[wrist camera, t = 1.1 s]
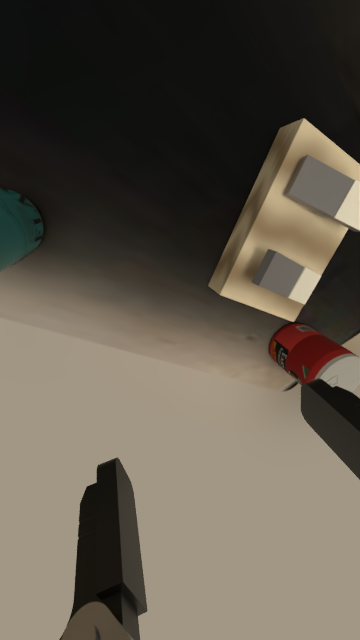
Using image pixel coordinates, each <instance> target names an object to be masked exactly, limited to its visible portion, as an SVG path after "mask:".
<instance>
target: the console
mask: <svg viewBox="0 0 360 640" xmlns="http://www.w3.org/2000/svg"><path fill="white" fill-rule="evenodd" d="M306 155H310V156H312V157H313V158H315V159H317V160H319V161H321V162H322V163H324V164H326V165H328V166H330V167H331V168H333V169H335V170H337V171H339V172H341V173H342V174H344V175H346V176H348V177H350V178H351V179H353V180H358V181H359V182H360V164H359V163H357V162H356V161H355V160H354V159H353V158H351V157H350V156H349V155H348V154H347V153H345V152H344V151H343V150H342V149H341V148H339V147H338V146H337V145H336V144H334V143H333V142H332V141H331V140H330V139H328V138H327V137H326V136H325V135H324V134H322V133H321V132H320V131H319V130H318V129H316V128H315V127H314V126H313V125H312V124H310V123H309V122H308V121H307V120H305V119H304V118H303V119H301V120H298V121H296V122H293V123H291V124H289V125H286V126H284V127H281V128H280V129H279V131H278V134H277V136H276V138H275V140H274V142H273V145H272V147H271V149H270V151H269V153H268V155H267V158H266V160H265V162H264V164H263V166H262V169H261V171H260V173H259V175H258V177H257V180H256V182H255V184H254V186H253V188H252V190H251V193H250V195H249V197H248V199H247V201H246V204H245V206H244V208H243V210H242V212H241V215H240V217H239V219H238V221H237V223H236V225H235V228H234V230H233V232H232V234H231V236H230V239H229V241H228V243H227V245H226V247H225V250H224V252H223V254H222V256H221V258H220V260H219V263H218V265H217V267H216V269H215V271H214V274H213V276H212V278H211V280H210V282H209V285H208V286H209V287H210V288H212V289H213V290H214V291H215V292H217V293H218V294H219V295H222V296H224V297H227V298H230V299H232V300H235V301H238V302H241V303H243V304H246V305H249V306H251V307H254V308H257V309H260V310H262V311H265V312H268V313H270V314H273V315H276V316H279V317H281V318H284V319H287V320H289V321H292V322H294V321H295V319H296V317H297V316H298V314H299V312H300V311H301V309H302V307H303V305H304V304H302V303H300V302H297V301H295V300H292V299H289V298H287V297H286V296H283V295H281V294H278V293H275V292H273V291H270V290H268V289H265V288H263V287H260V286H258V285H256V284H254V283H252V280H253V278H254V276H255V274H256V272H257V270H258V268H259V266H260V264H261V262H262V260H263V258H264V256H265V254H266V252H267V250H268V249H270V250H273V251H276V252H278V253H280V254H282V255H284V256H285V257H287V258H289V259H291V260H292V261H294V262H296V263H298V264H300V265H301V266H303V267H306V268H308V269H310V270H312V271H313V272H315V273H317V274H319V275H320V276H321V275H322V273H323V271H324V269H325V268H326V266H327V264H328V263H329V261H330V259H331V257H332V256H333V254H334V252H335V251H336V249H337V247H338V245H339V244H340V242H341V240H342V239H343V237H344V235H345V233H346V232H347V230H348V228H347V227H345V226H343V225H341V224H339V223H337V222H335V221H333V220H331V219H329V218H326V217H322V216H319V215H317V214H315V213H314V212H313V210H312V209H310V208H308V207H306V206H304V205H302V204H300V203H298V202H296V201H294V200H292V199H290V198H288V197H286V196H284V194H285V192H286V189H287V187H288V185H289V183H290V181H291V179H292V177H293V175H294V173H295V171H296V169H297V167H298V165H299V163H300V161H301V159H302V158H303V157H304V156H306Z"/></svg>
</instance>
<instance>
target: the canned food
mask: <svg viewBox="0 0 360 640" xmlns="http://www.w3.org/2000/svg"><path fill="white" fill-rule="evenodd" d="M269 350H270V354H271V356H272V358H273V360H274V361H275V362H277V363H278V364H279V365H280V366H281V367H282V368H283V369H284V370H285V371H286V372H287V373H289V374H290V375H291V376H292V377H293V378H294V379H295V380H296V381H297V382H298V383H299V384H301V385H303V384H305V383H307V382H310V381H312V380H315V379H318V378H320V379H322V380H324V381H325V382H326V383H328V384H329V385H330V386H331V387H334V386H338V387H341V388H343V389H345V390H348V391H350V392H353V391H354V390H355V389H356V388H357V386H358V385H359V384H360V357H359V356H357V355H355V354H354V353H352V352H350V351H349V350H347V349H346V348H344V347H342V346H341V345H339V344H337V343H335V342H334V341H332V340H330V339H329V338H327V337H325V336H324V335H322V334H320V333H318V332H317V331H315V330H313V329H312V328H310V327H308V326H307V325H304V324H300V323H291V324H288V325H286V326H284V327H282V328H281V329H280V330H279V331H278V332H277V333H276V334H275V335H274V336H273V338H272V340H271V343H270V347H269Z"/></svg>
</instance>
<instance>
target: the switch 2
mask: <svg viewBox="0 0 360 640" xmlns="http://www.w3.org/2000/svg"><path fill="white" fill-rule="evenodd" d="M284 196H286V197H288V198H290V199H292V200H294V201H296V202H298V203H300V204H302V205H304V206H306V207H308V208H310V209H312V210H313V212H314V213H315V214H317V215H319V216H322V217H326V218H329V219H331V220H333V221H335V222H337V223H339V224H341V225H343V226H345V227H347V228H349V229H351V230H353V231H355V232H360V182H359V181H358V180H353V179H351V178H350V177H348V176H346V175H344V174H342V173H341V172H339V171H337V170H335V169H333V168H331V167H330V166H328V165H326V164H324V163H322V162H321V161H319V160H317V159H315V158H313V157H312V156H310V155H306V156H304V157H303V158H302V159H301V161H300V163H299V165H298V167H297V169H296V171H295V173H294V175H293V177H292V179H291V181H290V183H289V185H288V187H287V189H286V192H285V194H284Z"/></svg>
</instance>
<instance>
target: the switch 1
mask: <svg viewBox="0 0 360 640" xmlns="http://www.w3.org/2000/svg"><path fill="white" fill-rule="evenodd" d="M320 278H321V276H320V275H319V274H317V273H315V272H313V271H312V270H310V269H308V268H306V267H303V266H301V265H300V264H298V263H296V262H294V261H292V260H291V259H289V258H287V257H285V256H284V255H282V254H280V253H278V252H276V251H273V250H270V249H268V250H267V252H266V254H265V256H264V258H263V260H262V262H261V264H260V266H259V268H258V270H257V272H256V274H255V276H254V278H253V280H252V283H254V284H256V285H258V286H260V287H263V288H265V289H268V290H270V291H273V292H275V293H278V294H281V295H283V296H286V297H287V298H289V299H292V300H295V301H297V302H300V303H302V304H305V303H306V302H307V300H308V298H309V296H310V295H311V293H312V291H313V290H314V288H315V286H316V284H317V283H318V281H319V279H320Z"/></svg>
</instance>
